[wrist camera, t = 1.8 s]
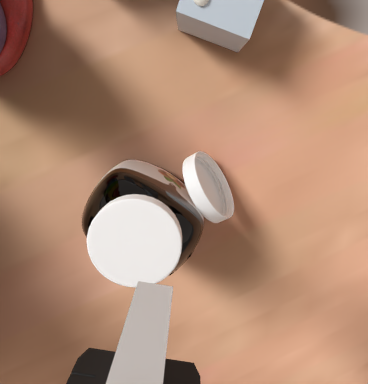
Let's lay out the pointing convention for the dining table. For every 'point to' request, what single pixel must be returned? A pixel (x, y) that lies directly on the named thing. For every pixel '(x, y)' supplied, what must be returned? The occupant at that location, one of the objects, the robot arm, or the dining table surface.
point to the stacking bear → (13, 31)
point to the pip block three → (219, 20)
